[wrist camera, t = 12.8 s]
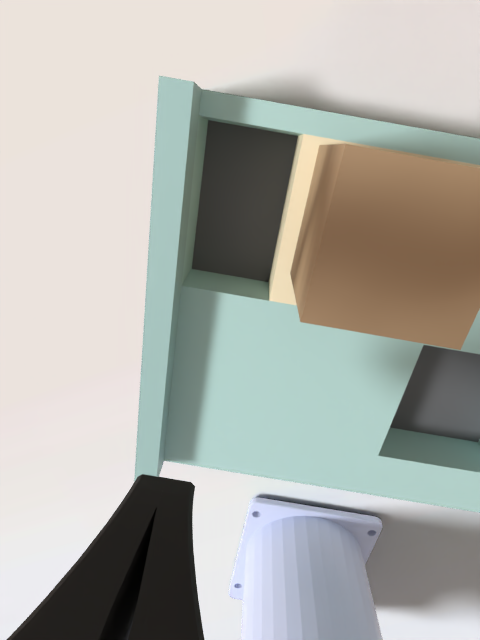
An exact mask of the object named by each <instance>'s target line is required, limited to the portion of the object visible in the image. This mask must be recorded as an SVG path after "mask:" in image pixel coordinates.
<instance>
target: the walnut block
mask: <svg viewBox="0 0 480 640" xmlns="http://www.w3.org/2000/svg"><path fill="white" fill-rule="evenodd" d="M290 275H291V280H292V285H293V289H294V294H295V299H296V304H297V309H298V314H299V318H300V322H303V323H308V324H314V325H320V326H326V327H331V328H337V329H343V330H348V331H354V332H360V333H366V334H371V335H377V336H383V337H389V338H394V339H400V340H406V341H411V342H417V343H423V344H429V345H434V346H440V347H446V348H452V349H457V350H461V348H462V346H463V343H464V341H465V339H466V337H467V335H468V333H469V331H470V328H471V326H472V324H473V322H474V320H475V318H476V315H477V313H478V311H479V309H480V168H476V167H470V166H465V165H459V164H454V163H448V162H443V161H437V160H432V159H426V158H421V157H415V156H410V155H404V154H399V153H393V152H388V151H382V150H377V149H371V148H366V147H360V146H355V145H349V144H332V145H319V149H318V154H317V158H316V162H315V167H314V171H313V175H312V180H311V184H310V188H309V193H308V197H307V202H306V206H305V210H304V215H303V219H302V223H301V228H300V232H299V236H298V241H297V245H296V250H295V254H294V258H293V263H292V267H291V271H290Z"/></svg>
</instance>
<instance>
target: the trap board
mask: <svg viewBox="0 0 480 640" xmlns="http://www.w3.org/2000/svg"><path fill="white" fill-rule="evenodd" d="M332 144H349V145H355V146H360V147H366V148H371V149H377V150H382V151H388V152H393V153H399V154H404V155H410V156H415V157H421V158H426V159H432V160H437V161H443V162H448V163H454V164H459V165H465V166H470V167H476V168H480V139H478V138H473V137H467V136H462V135H456V134H450V133H445V132H439V131H433V130H428V129H422V128H417V127H411V126H405V125H400V124H394V123H389V122H383V121H377V120H372V119H366V118H361V117H355V116H349V115H344V114H338V113H332V112H327V111H321V110H316V109H310V108H304V107H299V106H293V105H288V104H282V103H276V102H271V101H265V100H260V99H254V98H248V97H243V96H237V95H231V94H226V93H220V92H215V91H209V90H203V89H201V88H200V87H199V86H198V85H197V84H196V83H195V82H192V81H186V80H181V79H175V78H169V77H164V76H159V85H158V102H157V118H156V135H155V151H154V168H153V184H152V201H151V217H150V234H149V250H148V266H147V283H146V299H145V316H144V332H143V349H142V365H141V382H140V398H139V414H138V431H137V447H136V464H135V480H136V479H137V477H138V476H140V475H142V474H145V475H151V476H157V477H159V474H160V471H161V468H162V465H163V462H164V461H169V462H175V463H181V464H187V465H193V466H199V467H205V468H212V469H218V470H224V471H230V472H236V473H242V474H248V475H254V476H260V477H266V478H272V479H278V480H284V481H291V482H297V483H303V484H309V485H315V486H321V487H327V488H333V489H339V490H345V491H351V492H357V493H363V494H370V495H376V496H382V497H388V498H394V499H400V500H406V501H412V502H418V503H424V504H430V505H436V506H442V507H448V508H455V509H461V510H467V511H473V512H479V513H480V309H479V311H478V313H477V315H476V318H475V320H474V322H473V324H472V326H471V328H470V331H469V333H468V335H467V337H466V339H465V341H464V343H463V346H462V348H461V350H457V349H452V348H446V347H440V346H434V345H429V344H423V343H417V342H411V341H406V340H400V339H394V338H389V337H383V336H377V335H371V334H366V333H360V332H354V331H348V330H343V329H337V328H331V327H326V326H320V325H314V324H308V323H303V322H300V318H299V314H298V309H297V304H296V299H295V294H294V289H293V285H292V280H291V275H290V271H291V267H292V263H293V258H294V254H295V250H296V245H297V241H298V236H299V232H300V228H301V223H302V219H303V215H304V210H305V206H306V202H307V197H308V193H309V188H310V184H311V180H312V175H313V171H314V167H315V162H316V158H317V154H318V149H319V145H332ZM135 480H134V482H135Z"/></svg>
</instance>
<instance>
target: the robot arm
mask: <svg viewBox="0 0 480 640" xmlns="http://www.w3.org/2000/svg"><path fill="white" fill-rule="evenodd" d="M194 490H195V486H194V485H193V484H192V483H191V482H186V481H180V480H174V479H169V478H163V477H157V476H151V475H145V474H142V475H140V476H138V477H137V479H136V480H135V482H134V484H133V486H132V487H131V489H130V490H129V492H128V493H127V495H126V497H125V498H124V500H123V501H122V502H121V504H120V505H119V507H118V508H117V510H116V511H115V512H114V514H113V515H112V517H111V518H110V519H109V521H108V522H107V524H106V525H105V526H104V527H103V529H102V530H101V531H100V533H99V534H98V535H97V536H96V538H95V539H94V540H93V542H92V543H91V544H90V545H89V547H88V548H87V549H86V551H85V552H84V553H83V554H82V556H81V557H80V558H79V559H78V561H77V562H76V563H75V564H74V565H73V567H72V568H71V569H70V570H69V571H68V572H67V574H66V575H65V576H64V577H63V578H62V579H61V581H60V582H59V583H58V584H57V585H56V586H55V588H54V589H53V590H52V591H51V592H50V593H49V595H48V596H47V597H46V598H45V599H44V600H43V601H42V602H41V604H40V605H39V606H38V607H37V608H36V609H35V610H34V611H33V612H32V613H31V615H30V616H29V617H28V618H27V619H26V620H25V621H24V622H23V623H22V624H21V625H20V626H19V627H18V629H17V630H16V631H15V632H14V633H13V634H12V635H11V636H10V637H9V638H8V639H7V640H204V635H203V629H202V622H201V615H200V609H199V602H198V594H197V585H196V575H195V564H194V553H193V534H192V509H193V496H194ZM255 511H258V512H255ZM382 528H383V525H382V522H381V519H379V518H378V517H375V516H369V515H363V514H357V513H351V512H344V511H338V510H332V509H326V508H320V507H314V506H308V505H302V504H296V503H290V502H283V501H277V500H271V499H265V498H257V497H256V498H253V499H252V500H251V501H250V503H249V507H248V512H247V516H246V520H245V524H244V528H243V532H242V536H241V541H240V545H239V549H238V553H237V557H236V561H235V565H234V570H233V574H232V578H231V582H230V586H229V596H230V597H231V598H234V599H239V600H243V608H242V629H241V640H383V639H382V635H381V631H380V626H379V622H378V618H377V614H376V610H375V606H374V602H373V597H372V593H371V589H370V585H369V581H368V577H367V573H366V568H365V564H366V562H367V560H368V558H369V556H370V554H371V552H372V549H373V547H374V545H375V543H376V541H377V539H378V537H379V534H380V532H381V530H382Z"/></svg>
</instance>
